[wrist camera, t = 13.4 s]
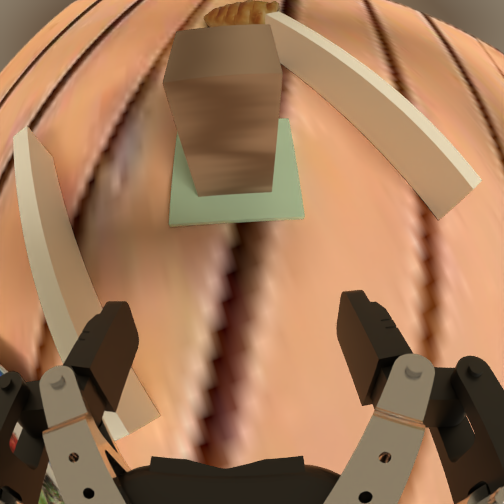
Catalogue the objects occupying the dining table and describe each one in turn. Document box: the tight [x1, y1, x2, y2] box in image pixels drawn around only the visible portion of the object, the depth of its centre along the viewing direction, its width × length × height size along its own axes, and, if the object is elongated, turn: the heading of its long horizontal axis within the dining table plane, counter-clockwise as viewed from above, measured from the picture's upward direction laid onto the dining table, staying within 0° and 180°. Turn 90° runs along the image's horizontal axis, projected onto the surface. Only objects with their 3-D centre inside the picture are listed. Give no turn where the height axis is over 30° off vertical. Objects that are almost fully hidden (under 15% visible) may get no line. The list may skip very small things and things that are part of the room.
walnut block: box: [163, 24, 283, 197], centre depth 16 cm, size 5×5×10 cm
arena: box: [13, 11, 482, 441], centre depth 19 cm, size 27×24×5 cm
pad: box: [169, 119, 305, 227], centre depth 21 cm, size 9×9×1 cm
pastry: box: [204, 0, 280, 27], centre depth 28 cm, size 9×7×4 cm
